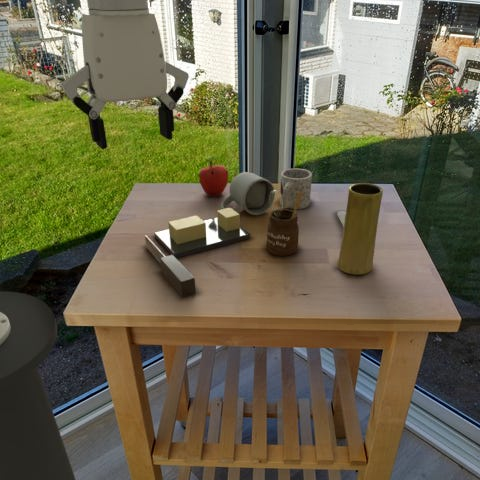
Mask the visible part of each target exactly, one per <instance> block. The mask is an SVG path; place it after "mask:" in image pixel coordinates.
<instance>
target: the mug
mask: <svg viewBox="0 0 480 480" xmlns="http://www.w3.org/2000/svg"><path fill="white" fill-rule="evenodd" d="M280 173H281V174H280V192H281V193H280V192H279V193H280V194H279V197H280V199H279V205H280V206H281V207H282V206H283V209H290V210H294V208H293V207H294V204H295V201H296V198H297V196H298V193H300V192H302V191H303V194H302V197H301V201H300V204H299V206H298V208H297V209H296V210H300V209H305V208H307V207H309V206H310V204H311V192H312V182H313V181H312V178H313V173H312V172H311V171H310V170H308V169H305V168H298V167H297V168H287V169H284V170H282V171H281V172H280ZM281 194H282V195H281ZM280 195H281V196H280ZM281 199H283V201H281Z"/></svg>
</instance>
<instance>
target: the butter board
mask: <svg viewBox="0 0 480 480" xmlns="http://www.w3.org/2000/svg"><path fill="white" fill-rule="evenodd" d="M203 221H204V222H205V223H206V237H205V238H201V239H197V240H193V241H189V242H185V243H181V244H177V243H176V242H175V241H174V240H173V239H172V238H171V237H170V234H169V228H168V229H164V230H160V231H156V232H154V238H155V239H156V240H157V241H158V242H159V243H160V245H162V246H163V248H165V249H166V251H167V252H168V253H169V254H170V255H173V256H174V257H175V258H176V259H178V258H182V257H185V256H188V255H189V256H190V255H194V254H197V253H200V252H204V251H208V250H211V249H215V248H219V247H223V246H226V245H230V244H234V243H238V242H241V241H242V242H243V241H245V240H249V239H250V238H251V233H250V232H248V231H247V230H246V229H244V228H243V226H240V229H236V230H232V231H228V232H226V231H225V230H224V229H223V228H222V227H220V226H219V225H218V222H217V217H213V218H210V219H205V220H203Z"/></svg>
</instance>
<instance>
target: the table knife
mask: <svg viewBox="0 0 480 480" xmlns="http://www.w3.org/2000/svg"><path fill="white" fill-rule="evenodd" d="M144 240H145V247H146V249H147V250H148V251H149V252H150V254H151V255H152V256H153V257H154V259H155V260H156V261H158V263H159V265H160V269H161V270H160V271H161V274H162V275H163V276H164V278H165V279H166V280H167V281H168V282H169V283H170V285H171V286H172V287H173V288H174V289H175V291H176V292H177V293H178V294H179V295H180V297H182V298H185V297H189V296H192V295H196V293H197V292H196V278H195V277H194V275H192V274H191V273H190V272H189V270H188V269H187V268H186V267H185V266H184V265H183V264H182V263H181V262H180V261H179V260H178V258H175V257H174V256H173V255H171V254H170V255H167V256H166V255H165V254H164V253H163V251H161V249H159V247H158V246H157V245H156V244H155V243H154V242H153V241H152V239H150V238H149V236H148V235H147V234H145V235H144Z"/></svg>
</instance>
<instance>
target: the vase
mask: <svg viewBox="0 0 480 480" xmlns="http://www.w3.org/2000/svg"><path fill="white" fill-rule="evenodd" d="M383 192H384V191H383V188H382V187H381V186H380V185H377V184H375V183H369V182H358V183H353V184H352V185H350V186H349V189H348V195H347V203H346V210H345V211H346V216H345V222H344V228H343V230H342V237H341V243H340V249H339V256H338V260H337V263H336V265H337V267H338V269H339V270H340V271H342V272H343V273H346V274H349V275H357V276H358V275H359V276H361V275H365V274H368V273H370V272H371V271H372V270H373V267H374V256H375V247H376V239H377V232H378V226H379V225H378V224H379V217H380V211H381V204H382V199H383Z"/></svg>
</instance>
